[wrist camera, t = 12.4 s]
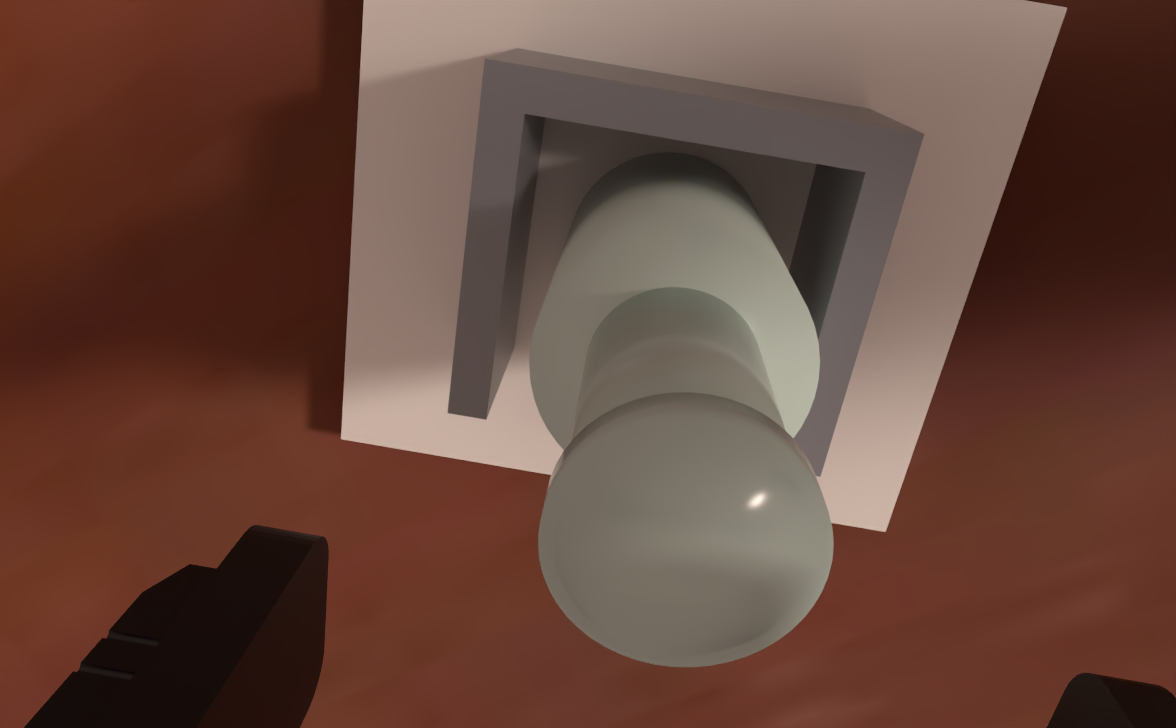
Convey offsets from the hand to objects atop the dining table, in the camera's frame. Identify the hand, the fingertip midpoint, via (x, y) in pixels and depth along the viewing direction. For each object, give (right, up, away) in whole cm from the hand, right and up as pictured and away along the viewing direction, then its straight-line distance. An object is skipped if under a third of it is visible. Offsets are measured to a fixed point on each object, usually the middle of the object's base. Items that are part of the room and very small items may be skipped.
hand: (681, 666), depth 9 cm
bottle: (+1, +7, +16) cm, 17 cm away
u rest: (+1, +7, +17) cm, 18 cm away
